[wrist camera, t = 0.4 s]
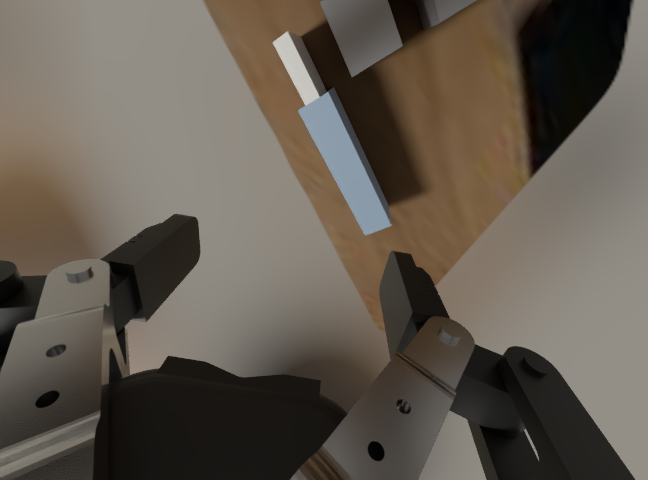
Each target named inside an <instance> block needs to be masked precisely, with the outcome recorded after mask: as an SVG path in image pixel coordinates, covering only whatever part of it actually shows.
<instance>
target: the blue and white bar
mask: <svg viewBox="0 0 648 480" xmlns="http://www.w3.org/2000/svg"><path fill="white" fill-rule="evenodd" d="M273 44H274V46H275V48H276V50H277V52H278V54H279V56H280V58H281V60H282V61H283V63H284V65H285V67H286V69H287V71H288V73H289V75H290V77H291V79H292V81H293V83H294V84H295V86H296V88H297V90H298V92H299V94H300V96H301V98H302V100H303V102H304V104H305V106H303V107H302V108H301V109H299V110H298V112H299V114H300V116H301V117H302V119H303V121H304V123H305V125H306V127H307V129H308V130H309V132H310V134H311V136H312V138H313V140H314V142H315V143H316V145H317V147H318V149H319V151H320V153H321V155H322V156H323V158H324V160H325V162H326V164H327V166H328V168H329V169H330V171H331V173H332V175H333V177H334V179H335V181H336V182H337V184H338V186H339V188H340V190H341V192H342V194H343V195H344V197H345V199H346V201H347V203H348V205H349V207H350V208H351V210H352V212H353V214H354V216H355V218H356V220H357V221H358V223H359V225H360V227H361V229H362V231H363V233H364V234H365V236H366V235H368V234H371V233H374V232H376V231H379V230H381V229H384V228H387V227H389V226H392V225H391V219H390V213H389V206H388V203H387V201H386V199H385V197H384V194H383V192H382V190H381V188H380V186H379V184H378V181H377V179H376V177H375V175H374V173H373V171H372V168H371V166H370V164H369V162H368V160H367V158H366V155H365V153H364V151H363V149H362V147H361V145H360V142H359V140H358V138H357V136H356V134H355V132H354V129H353V127H352V125H351V123H350V121H349V119H348V116H347V114H346V112H345V110H344V108H343V106H342V103H341V101H340V99H339V97H338V95H337V93H336V90H335V88H334V87H333V88H332V89H330V90H329V91H326V89H325V87H324V84H323V82H322V80H321V78H320V76H319V74H318V72H317V70H316V68H315V66H314V63H313V61H312V59H311V57H310V55H309V53H308V51H307V49H306V47H305V45H304V42H303V40H302V38H301V36H298V35H296V34H293V33H291V32H288V31H287V32H286V33H285V34H283V35H282V36H281V37H279V38H278V39H277V40H275V41H274V42H273Z"/></svg>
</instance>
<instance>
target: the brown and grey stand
mask: <svg viewBox="0 0 648 480" xmlns="http://www.w3.org/2000/svg"><path fill="white" fill-rule="evenodd" d="M415 1H416V5H417V8H418V12H419V15H420V18H421V22H422V25H423V29H424V31H425V30H427V29H429V28H431V27H433V26H435V25H437V24H439V23H441V22H442V21H444V20H446V19H447V18H449V17H450V16H452V15H454V14H455V13H457V12H459V11H460V10H462V9H463V8H465V7H467V6H468V5H470V4H472V3H473V2H475V1H476V0H415ZM320 4H321V6H322V9H323V11H324V13H325V16H326V18H327V20H328V23H329V25H330V27H331V30H332V32H333V34H334V37H335V39H336V41H337V44H338V46H339V48H340V51H341V53H342V55H343V58H344V60H345V62H346V65H347V67H348V69H349V72H350V74H351V77H353V76H355V75H357V74H358V73H360V72H361V71H363V70H365V69H366V68H368V67H370V66H371V65H373V64H374V63H376V62H378V61H379V60H381V59H383V58H384V57H386V56H387V55H389V54H391V53H392V52H394V51H395V50H397V49H399V48H400V47H402V46H403V45H402V42H401V39H400V36H399V33H398V30H397V27H396V24H395V21H394V18H393V15H392V12H391V9H390V6H389V2H388V0H323V1H321V2H320Z"/></svg>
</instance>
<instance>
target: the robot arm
mask: <svg viewBox="0 0 648 480" xmlns="http://www.w3.org/2000/svg"><path fill="white" fill-rule="evenodd" d="M199 257H200V240H199V227H198V221H197V219H196V217H192V216H186V215H179V214H174V215H173V216H171V217H170V218H168V219H167V220H165V221H164V222H163V223H159V224H157V225H154V226H151V227H148V228H146V229H144V230H143V231H142V232H140V233H139V234H137V236H134V237H133V238H131V239H130V240H129V241H128V242H125V243H124V244H122V245H121V246H120V247H118V248H117V249H115V250H114V251H112V252H111V253H109V254H108V255H106V256H105V257H103V258H102V259H100V260H97V259H84V260H78V261H73V262H70V263H66V264H64V265H61V266H60V267H58V268H56V269H54V270H53V271H51V272H50V273H49V274H48V275H47V276H46V275H45V276H21V275H20V273H19V271H18V269H17V267H16V265H15V264H13V263H12V262H9V261H1V260H0V480H418V479H419V476H420V474H421V472H422V469H423V467H424V465H425V463H426V461H427V459H428V456H429V454H430V452H431V450H432V447H433V445H434V443H435V441H436V438H437V436H438V434H439V432H440V429H441V427H442V425H443V423H444V420H445V418H446V416H447V414H448V412H449V410H450V411H452V412H454V413H456V414H458V415H460V416H462V417H464V418H466V419H467V420H468V423H469V426H470V429H471V432H472V436H473V439H474V442H475V445H476V448H477V451H478V454H479V457H480V461H481V464H482V467H483V470H484V473H485V476H486V479H487V480H635V479H634V477H633V476H632V474H631V473H630V471H629V470H628V469H627V467H626V466H625V464H624V463H623V462H622V460H621V459H620V457H619V456H618V455H617V453H616V452H615V450H614V449H613V447H612V446H611V445H610V443H609V442H608V441H607V439H606V438H605V436H604V435H603V434H602V432H601V431H600V429H599V428H598V427H597V425H596V424H595V422H594V421H593V419H592V418H591V416H590V415H589V414H588V412H587V411H586V410H585V408H584V407H583V405H582V404H581V402H580V401H579V400H578V398H577V397H576V395H575V394H574V393H573V391H572V390H571V388H570V387H569V386H568V384H567V383H566V381H565V380H564V378H563V377H562V376H561V374H560V373H559V372H558V370H557V369H556V368H555V367H554V366H553V365H552V364H551V363H550V362H549V361H547V360H546V359H545V358H543V357H542V356H540V355H539V354H537V353H535V352H533V351H531V350H529V349H526V348H523V347H517V346H515V347H514V346H513V347H510V348H508V349H507V350H506V352H505V353H504V355H503V356H502V355H500V354H497V353H495V352H492V351H490V350H488V349H485V348H482V347H480V346H478V345H476V344H475V342H474V339H473V337H472V335H471V334H470V333H469V331H468V330H467V329H466V328H465V327H463V326H462V325H461V324H459V323H457V322H456V321H454V320H452V319H450V318H449V315H448V313H447V311H446V309H445V307H444V305H443V303H442V300H441V298H440V296H439V295H438V292H437V290H436V288H435V287H434V283H433V281H432V279H431V277H430V276H429V275H428V274H427V273H426V272H425V271H424V270H423V269H422V268H419V267H416V265H415V263H414V260H413V258H412V255H411V254H408V253H402V252H396V251H392V252H391V253H390V255H389V258H388V261H387V264H386V267H385V270H384V273H383V277H382V280H381V283H380V291H379V294H380V301H381V307H382V313H383V319H384V324H385V330H386V336H387V342H388V348H389V353H390V359H391V361H390V362H389V363H388V364H387V366H386V367H385V368H384V369H383V371H382V372H381V373H380V374H379V376H378V377H377V378H376V379H375V381H374V382H373V383H372V384H371V386H370V387H369V388H368V389H367V391H366V392H365V393H364V394H363V396H362V397H361V398H360V399H359V401H358V402H357V403H356V404H355V406H354V407H353V408H352V409H351V411H350V412H349V413H347V412H346V411H345V410H344V409H343V408H342V407H341V406H340V405H339V404H337V403H336V402H335V401H333V400H332V399H330V398H328V397H327V396H325V395H323V394H321V393H320V383H321V381H320V380H314V379H308V378H302V377H296V376H290V375H284V374H283V375H271V376H259V377H246V378H243V377H238V376H236V375H234V374H231V373H229V372H227V371H225V370H223V369H220V368H218V367H216V366H214V365H211V364H209V363H207V362H203V361H196V360H191V359H185V358H178V357H172V356H168V357H167V358H166V360H165V361H164V363H163V364H162V366H161V367H160V368H159V369H152V370H146V371H142V372H139V373H136V374H132V375H130V365H129V351H128V332H127V328H126V324H127V323H128V322H129V321H130V320H137V321H143V322H147V321H148V320H149V318H150V317H151V316H152V315H153V314H154V312H155V311H156V310H157V309H158V308H159V307H160V305H162V303H163V302H164V301H165V300H166V299H167V298H168V296H169V295H170V294H171V293H172V292H173V291H174V290H175V288H176V287H177V286H178V285H179V284H180V283H181V281H182V280H183V279H184V278H185V277H186V276H187V275H188V273H189V272H190V271H191V270H192V269H193V268H194V266H195V265H196V264H197V262H198V260H199ZM525 429H526V430H527V432H528V434H529V436H530V438H531V440H532V442H533V444H534V446H535V448H536V450H537V453H538V456H539V461H538V459H537V457H536V455H535V453H534V450H533V448H532V446H531V444H530V442H529V440H528V438H527V436H526V434H525V432H524V430H525Z"/></svg>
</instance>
